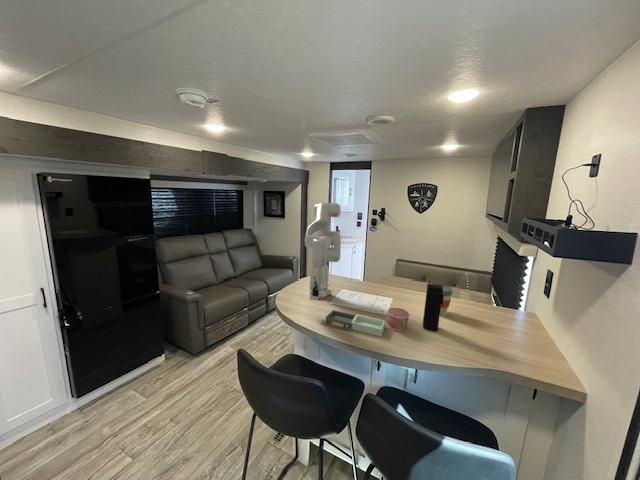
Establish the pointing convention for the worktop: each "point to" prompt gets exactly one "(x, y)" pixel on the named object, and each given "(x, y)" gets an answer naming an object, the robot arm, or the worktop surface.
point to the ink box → (319, 291)
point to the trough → (368, 325)
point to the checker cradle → (339, 320)
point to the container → (397, 318)
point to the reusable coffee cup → (445, 298)
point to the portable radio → (432, 306)
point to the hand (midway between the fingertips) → (317, 293)
